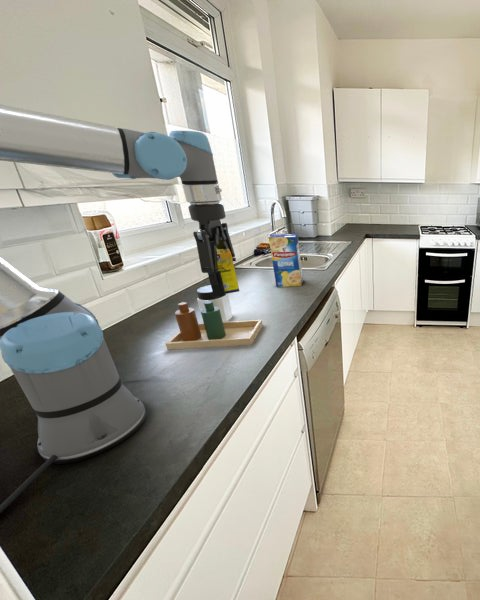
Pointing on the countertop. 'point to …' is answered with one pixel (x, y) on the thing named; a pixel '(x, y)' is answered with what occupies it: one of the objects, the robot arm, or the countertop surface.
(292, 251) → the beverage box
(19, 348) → the robot arm
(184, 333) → the amber bottle
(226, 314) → the jar
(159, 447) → the countertop surface
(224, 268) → the supplement box
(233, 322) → the tray
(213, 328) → the green bottle
